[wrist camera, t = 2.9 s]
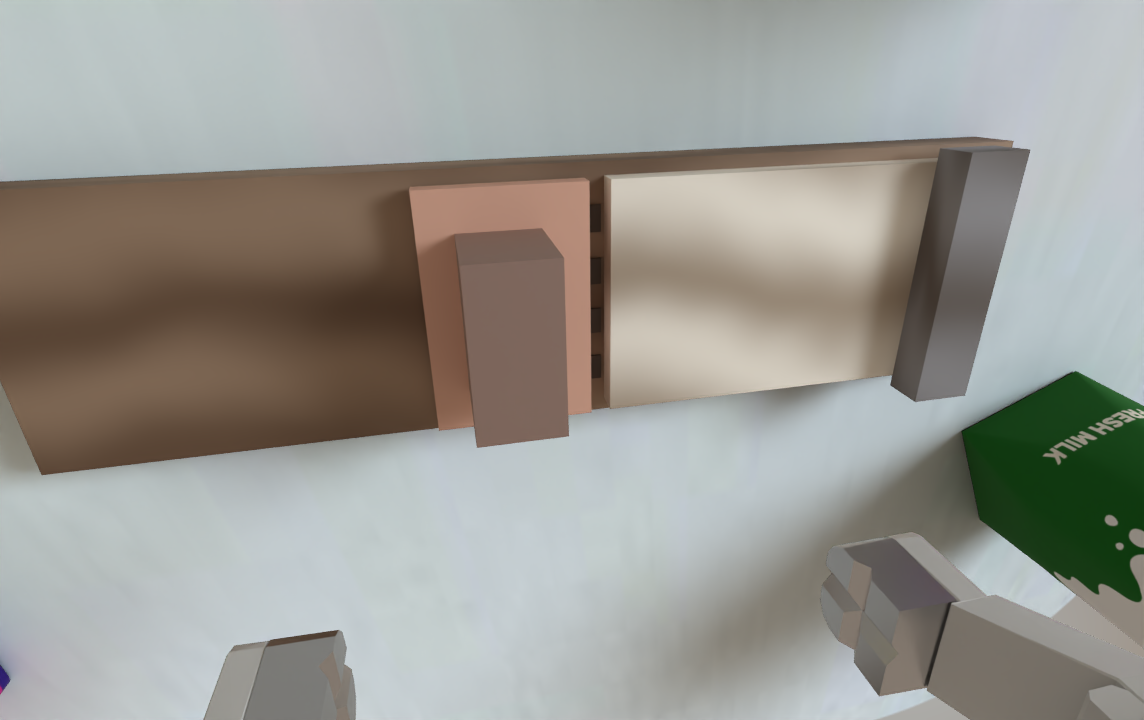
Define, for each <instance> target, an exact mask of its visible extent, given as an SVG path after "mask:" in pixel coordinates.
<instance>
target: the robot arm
mask: <svg viewBox="0 0 1144 720" xmlns="http://www.w3.org/2000/svg"><path fill="white" fill-rule="evenodd" d="M826 566H827V567H828V568H829V570H830V571H831V572H832V574H831V575H830V576H829V577H828V578H827V580H826V581H825V582H824V583H823V584H822V590H821V598H820V601H821V606H822V610H823V615H824V618H825V620H826V622H827V624H828V626H829V628H830V630H831V631H832V633H833V634H834V636H835V637H836V638H837V640H838V641H840V642H841V643H843V644H845V645H847V646H849V647H850V648H852V649H854V663H855V664H856V666H857V667H858V668H859V670H860V671H861V672H862V674H863V675H864V677H865V678H866V679H867V681H868V682H869V683H870V685H871V686H872V687H873V689H874V690H875V691H876V693H877V694H878V695H879V696H884V695H889V694H895V693H900V692H906V691H911V690H916V689H922V688H927V691H928V692H930V693H931V694H933V695H934V696H936V697H937V698H939V699H940V700H942V701H943V702H945V703H946V704H948V705H949V706H951V707H952V708H954V709H955V710H956V711H958V712H959V713H961V714H962V715H964V716H966V717H967V718H968V719H970V720H1144V658H1143V657H1140V656H1138V655H1136V654H1134V653H1131V652H1129V651H1126V650H1124V649H1122V648H1119V647H1117V646H1115V645H1112V644H1110V643H1108V642H1105V641H1103V640H1101V639H1098V638H1096V637H1094V636H1091V635H1089V634H1087V633H1084V632H1081V631H1079V630H1077V629H1075V628H1072V627H1070V626H1068V625H1065V624H1063V623H1061V622H1058V621H1056V620H1053V619H1051V618H1049V617H1047V616H1044V615H1042V614H1039V613H1037V612H1035V611H1032V610H1030V609H1028V608H1025V607H1023V606H1021V605H1018V604H1016V603H1014V602H1011V601H1009V600H1007V599H1004V598H1002V597H999V596H997V595H992V596H987V595H986V594H984V593H983V592H982V591H981V590H980V589H979V588H978V587H977V586H976V585H975V584H974V583H972V582H971V581H970V580H969V579H968V578H967V577H966V576H965V575H964V574H963V573H961V572H960V571H959V570H958V569H957V568H956V567H955V566H954V565H953V564H952V563H950V562H949V561H948V560H947V559H946V558H945V557H944V556H943V555H942V554H941V553H940V552H938V551H937V550H936V549H935V548H934V547H933V546H932V545H931V544H930V543H929V542H927V541H926V540H925V539H924V538H923V537H922V536H920V535H919V534H916V533H914V532H908V533H902V534H897V535H891V536H886V537H884V538H882V537H881V538H875V539H870V540H864V541H859V542H853V543H847V544H842V545H836V546H833V547H832V548H831V549H830V551H829V552H828V555H827V560H826ZM346 649H347V647H346V644H345V640H344V636H343V632H342V631H340V630H335V631H328V632H321V633H314V634H307V635H301V636H294V637H287V638H280V639H273V640H270V641H265V642H258V643H250V644H243V645H236V646H234V647H233V648H232V650H231V651H230V652H229V653H228V655H227V656H226V659H225V662H224V664H223V667H222V670H221V673H220V675H219V678H218V681H217V684H216V686H215V689H214V692H213V695H212V697H211V700H210V703H209V706H208V708H207V711H206V714H205V717H204V719H203V720H356V693H355V684H354V678H353V673H352V669H350V668H349V667H348V666H346V665H345V664H344V663H345V656H346Z"/></svg>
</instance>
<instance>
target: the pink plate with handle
mask: <svg viewBox="0 0 1144 720" xmlns="http://www.w3.org/2000/svg"><path fill="white" fill-rule="evenodd" d="M409 194H410V202H411V210H412V218H413V226H414V234H415V242H416V250H417V258H418V266H419V274H420V282H421V290H422V298H423V306H424V314H425V322H426V330H427V338H428V346H429V354H430V362H431V370H432V378H433V386H434V395H435V403H436V411H437V419H438V427H439V431H440V430H448V429H456V428H465V427H473V426H474V428H475V436H476V444H477V448H479V447H487V446H495V445H503V444H511V443H519V442H526V441H534V440H542V439H550V438H558V437H566V436H569V425H568V415H573V414H581V413H590V412H591V303H590V190H589V180H587V179H586V178H569V179H550V180H531V181H512V182H493V183H474V184H455V185H436V186H417V187H410V189H409Z"/></svg>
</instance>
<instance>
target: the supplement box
mask: <svg viewBox="0 0 1144 720" xmlns="http://www.w3.org/2000/svg"><path fill="white" fill-rule="evenodd" d="M9 682H10V678H9V676H8V675H7V673H6V672H5V671H4V669H3V668H2V667H1V666H0V694H1V693H2V691H3V690H4V689H5V687H6V686H7V684H8V683H9Z"/></svg>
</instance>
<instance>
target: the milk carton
mask: <svg viewBox="0 0 1144 720" xmlns="http://www.w3.org/2000/svg"><path fill="white" fill-rule="evenodd" d="M962 435H963V440H964V445H965V450H966V454H967V459H968V464H969V469H970V474H971V479H972V484H973V489H974V493H975V498H976V503H977V508H978V513H979V518H980V520H981V521H983V522H984V523H985V524H987V525H988V526H989V527H991V528H992V529H993V530H995V531H996V532H997V533H999V534H1000V535H1001V536H1002V537H1004V538H1005V539H1006V540H1008V541H1009V542H1010V543H1012V544H1013V545H1014V546H1015V547H1017V548H1018V549H1019V550H1021V551H1022V552H1023V553H1024V554H1026V555H1027V556H1028V557H1030V558H1031V559H1032V560H1034V561H1035V562H1036V563H1038V564H1039V565H1040V566H1041V567H1043V568H1044V569H1045V570H1046V571H1048V572H1049V573H1050V574H1051V575H1052V576H1054V577H1055V578H1056V579H1057V580H1059V581H1060V582H1061V583H1062V584H1063V585H1065V586H1066V587H1067V588H1068V589H1070V590H1071V591H1072V592H1073V593H1075V594H1076V595H1077V596H1079V597H1080V598H1081V599H1082V600H1083V601H1085V602H1086V603H1087V604H1089V605H1090V606H1091V607H1092V608H1093V609H1095V610H1096V611H1097V612H1099V613H1100V614H1101V615H1102V616H1103V617H1105V618H1106V619H1107V620H1108V621H1110V622H1111V623H1112V624H1113V625H1115V626H1116V627H1117V628H1118V629H1120V630H1121V631H1122V632H1123V633H1125V634H1126V635H1127V636H1128V637H1130V638H1131V639H1132V640H1133V641H1135V642H1136V643H1137V644H1138V645H1140V646H1141V647H1142V648H1143V649H1144V406H1142V405H1141V404H1139V403H1137V402H1135V401H1133V400H1131V399H1129V398H1127V397H1125V396H1123V395H1121V394H1119V393H1117V392H1115V391H1113V390H1111V389H1109V388H1107V387H1106V386H1104V385H1102V384H1100V383H1098V382H1096V381H1094V380H1092V379H1090V378H1088V377H1086V376H1084V375H1083V374H1081V373H1079V372H1077V371H1075V372H1073V373H1071V374H1070V375H1068V376H1066V377H1064V378H1062V379H1060V380H1058V381H1056V382H1054V383H1053V384H1051V385H1049V386H1047V387H1045V388H1043V389H1041V390H1039V391H1037V392H1036V393H1034V394H1032V395H1030V396H1028V397H1026V398H1024V399H1022V400H1020V401H1019V402H1017V403H1015V404H1013V405H1011V406H1009V407H1007V408H1005V409H1003V410H1002V411H1000V412H998V413H996V414H994V415H992V416H990V417H988V418H987V419H985V420H983V421H981V422H979V423H977V424H975V425H973V426H971V427H970V428H968V429H966V430H964V431H962Z"/></svg>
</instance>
